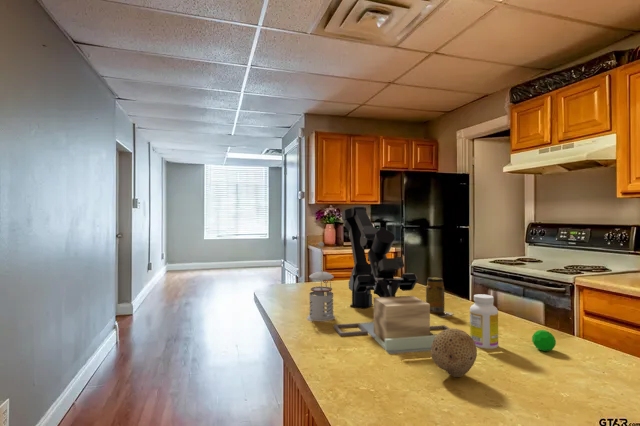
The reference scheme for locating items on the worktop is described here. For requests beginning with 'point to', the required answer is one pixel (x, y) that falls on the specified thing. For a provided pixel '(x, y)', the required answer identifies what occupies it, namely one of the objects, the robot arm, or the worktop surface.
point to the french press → (321, 297)
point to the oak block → (401, 317)
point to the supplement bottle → (484, 322)
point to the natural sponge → (454, 352)
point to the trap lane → (393, 343)
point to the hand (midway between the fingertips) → (393, 307)
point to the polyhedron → (543, 340)
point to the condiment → (436, 296)
